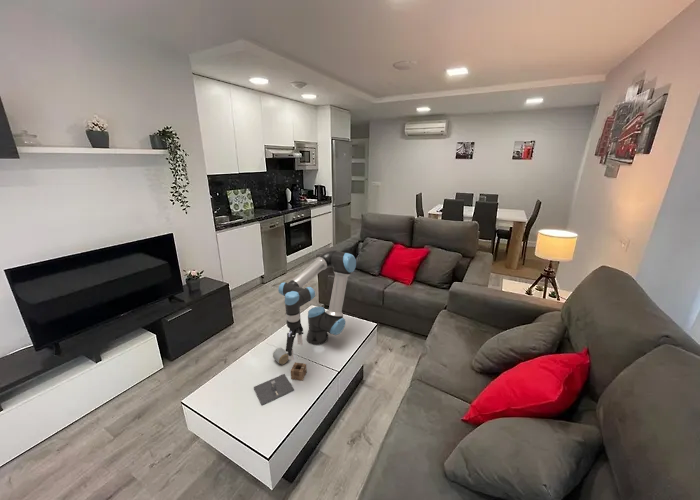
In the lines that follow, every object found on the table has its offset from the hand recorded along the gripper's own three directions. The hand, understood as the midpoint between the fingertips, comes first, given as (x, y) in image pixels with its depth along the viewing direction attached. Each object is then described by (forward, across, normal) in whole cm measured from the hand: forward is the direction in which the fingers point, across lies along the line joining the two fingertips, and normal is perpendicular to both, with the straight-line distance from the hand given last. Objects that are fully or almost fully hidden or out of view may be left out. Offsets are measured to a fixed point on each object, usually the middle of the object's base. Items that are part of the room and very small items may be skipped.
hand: (295, 351), depth 164 cm
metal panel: (+17, +13, -9) cm, 23 cm away
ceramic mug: (+17, -11, -14) cm, 25 cm away
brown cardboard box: (+17, 0, +1) cm, 17 cm away
